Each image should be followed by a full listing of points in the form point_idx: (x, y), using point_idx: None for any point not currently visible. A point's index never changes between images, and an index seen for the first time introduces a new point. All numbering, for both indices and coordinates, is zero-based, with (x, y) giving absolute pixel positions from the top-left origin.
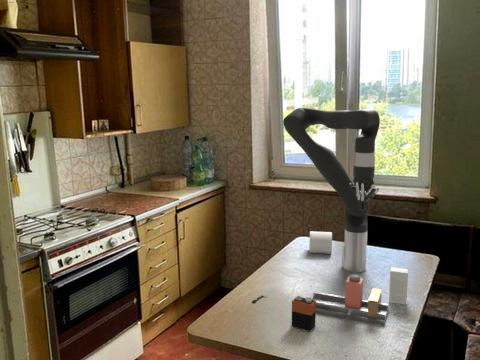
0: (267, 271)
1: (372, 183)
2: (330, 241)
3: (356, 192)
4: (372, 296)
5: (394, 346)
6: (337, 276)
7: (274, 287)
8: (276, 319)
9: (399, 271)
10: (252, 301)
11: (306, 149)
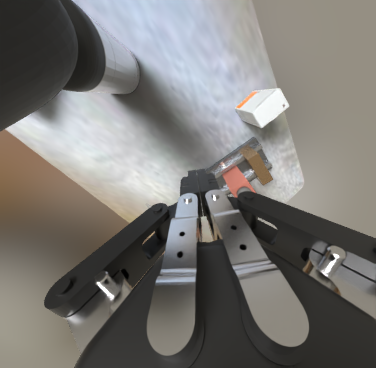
0: (101, 192)
1: None
2: None
3: (138, 230)
4: (261, 175)
5: (294, 181)
6: (142, 124)
7: (146, 205)
8: (203, 227)
9: (274, 115)
10: None
11: None
